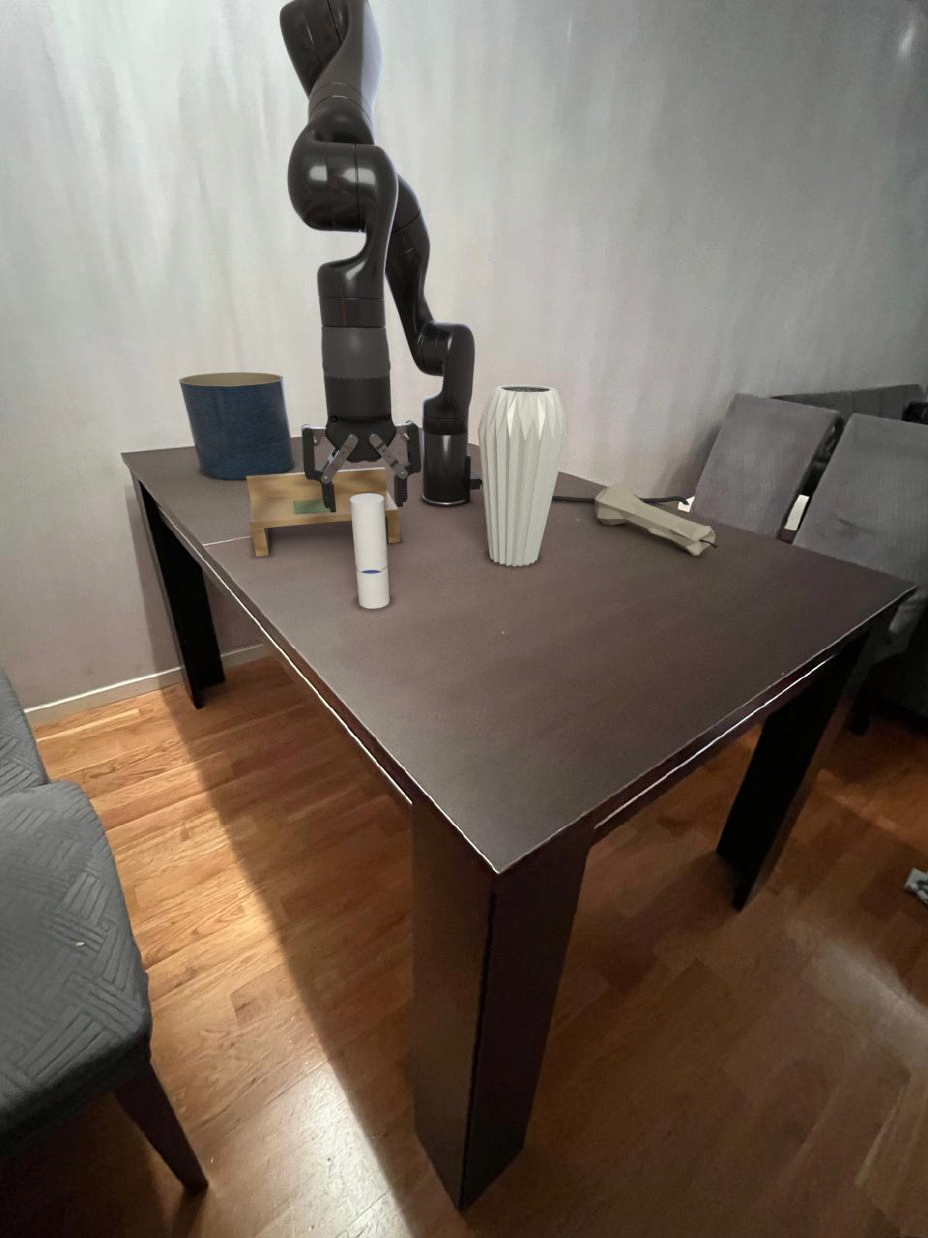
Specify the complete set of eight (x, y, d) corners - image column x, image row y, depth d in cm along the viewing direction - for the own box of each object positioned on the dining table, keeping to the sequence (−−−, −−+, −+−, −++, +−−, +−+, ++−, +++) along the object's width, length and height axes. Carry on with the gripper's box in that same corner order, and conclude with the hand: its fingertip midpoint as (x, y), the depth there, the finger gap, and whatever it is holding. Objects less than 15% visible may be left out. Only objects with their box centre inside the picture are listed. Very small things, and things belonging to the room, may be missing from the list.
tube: (375, 591, 80) (368, 491, 72) (395, 600, 78) (390, 498, 70) (352, 601, 77) (342, 498, 70) (373, 611, 75) (365, 506, 67)
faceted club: (611, 508, 111) (727, 553, 95) (583, 528, 107) (699, 578, 92) (612, 468, 105) (737, 510, 89) (583, 488, 101) (707, 535, 86)
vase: (487, 578, 85) (496, 396, 71) (464, 544, 96) (468, 382, 82) (566, 569, 88) (588, 394, 74) (535, 538, 99) (550, 380, 85)
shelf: (387, 518, 106) (384, 466, 101) (400, 542, 96) (397, 486, 91) (256, 530, 99) (246, 475, 94) (256, 556, 89) (244, 497, 84)
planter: (195, 461, 138) (175, 374, 127) (285, 452, 147) (273, 370, 136) (204, 485, 121) (182, 387, 110) (304, 474, 130) (292, 382, 119)
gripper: (410, 366, 67) (413, 495, 75) (290, 367, 63) (307, 503, 72) (425, 374, 61) (426, 513, 69) (293, 376, 57) (311, 522, 65)
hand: (366, 507), depth 70 cm, fingers open, 8 cm apart
